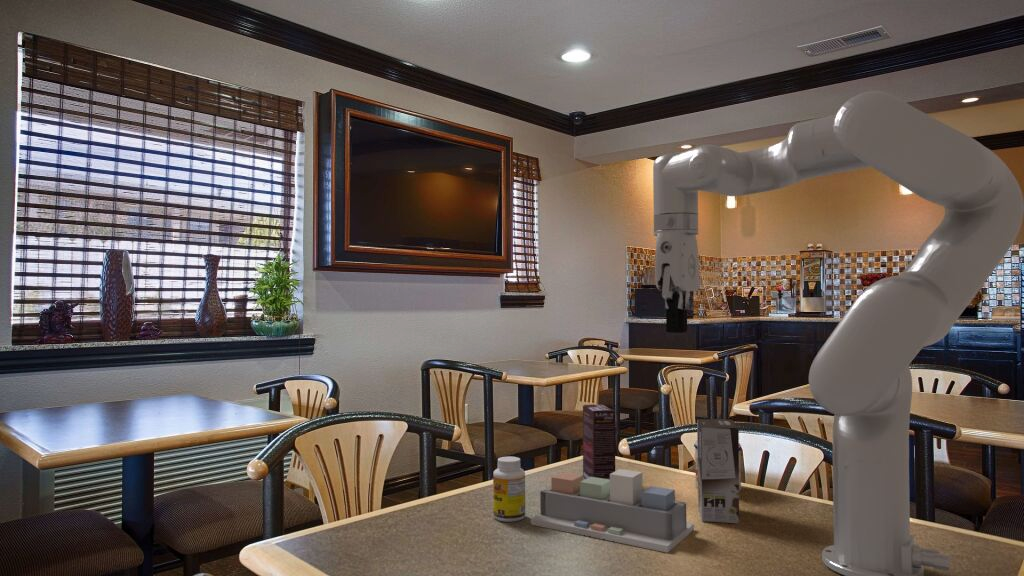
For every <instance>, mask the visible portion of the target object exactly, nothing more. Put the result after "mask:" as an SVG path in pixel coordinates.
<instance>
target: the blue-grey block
mask: <svg viewBox="0 0 1024 576" xmlns="http://www.w3.org/2000/svg"><path fill="white" fill-rule="evenodd" d="M675 494H676V490H675V489H673V488H667V487H662V486H661V487H659V486H653V485H651V486H649V487H647V488H646V489H644V490H643V491H642V507H645V508H651V509H657V510H663V511H669V510H670V509H671V508H673V507H674V506H675V501H676V499H675V497H676V495H675Z"/></svg>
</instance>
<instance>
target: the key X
mask: <svg viewBox="0 0 1024 576" xmlns="http://www.w3.org/2000/svg"><path fill="white" fill-rule="evenodd" d="M643 489H644V488H643V471H636V470H631V469H630V470H629V469H622V468H619V469H617V470H615V472H613V473H611V474H610V501H611V502H616V503H622V504H628V505H636V504H637V503H639V502H641V501H642V491H644V490H643Z"/></svg>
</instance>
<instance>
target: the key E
mask: <svg viewBox="0 0 1024 576" xmlns="http://www.w3.org/2000/svg"><path fill="white" fill-rule="evenodd" d="M580 496H582V497H588V498H593V499H599V500H604V499H606V498H607V497H609V496H610V480H609V479H603V478H596V477H589V478H587V479H585V480H583V481H581V482H580Z"/></svg>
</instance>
